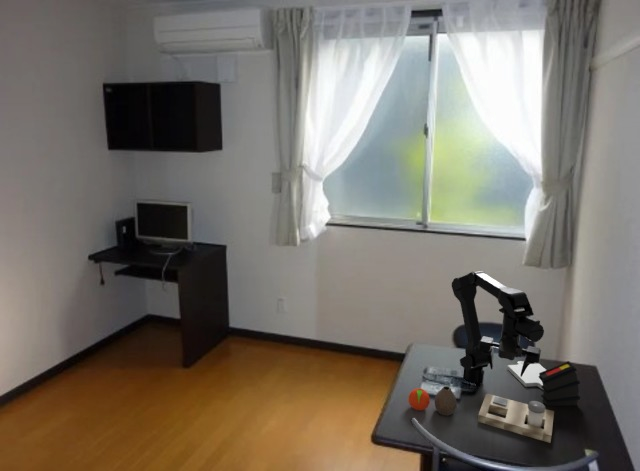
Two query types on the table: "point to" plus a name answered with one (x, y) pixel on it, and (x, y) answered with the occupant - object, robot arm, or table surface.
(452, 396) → the vase
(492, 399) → the socket board
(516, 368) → the mounting plate
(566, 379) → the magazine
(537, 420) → the plug
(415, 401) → the clementine
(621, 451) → the table surface
